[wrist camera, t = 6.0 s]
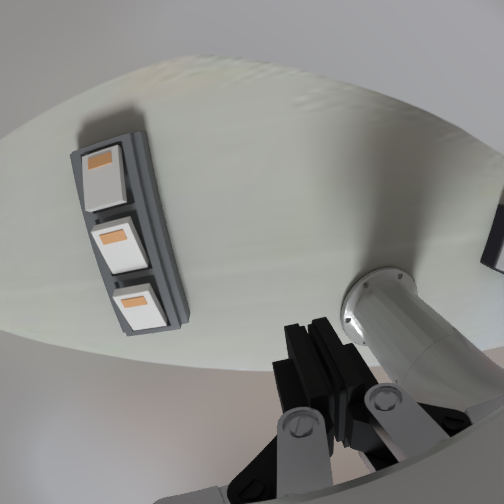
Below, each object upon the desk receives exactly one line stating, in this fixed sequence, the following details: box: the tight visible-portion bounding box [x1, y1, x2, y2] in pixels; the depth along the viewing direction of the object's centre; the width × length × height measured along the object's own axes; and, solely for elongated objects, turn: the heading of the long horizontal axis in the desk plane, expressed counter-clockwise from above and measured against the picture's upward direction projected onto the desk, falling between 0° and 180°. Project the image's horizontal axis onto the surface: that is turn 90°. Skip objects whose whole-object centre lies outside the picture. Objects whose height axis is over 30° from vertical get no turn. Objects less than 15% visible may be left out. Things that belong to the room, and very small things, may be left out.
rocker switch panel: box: [70, 131, 190, 336], centre depth 33 cm, size 23×9×4 cm, turn 10°
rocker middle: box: [91, 216, 149, 274], centre depth 30 cm, size 6×4×1 cm
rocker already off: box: [113, 283, 167, 330], centre depth 33 cm, size 6×4×1 cm
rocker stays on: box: [82, 145, 127, 212], centre depth 28 cm, size 6×4×1 cm
